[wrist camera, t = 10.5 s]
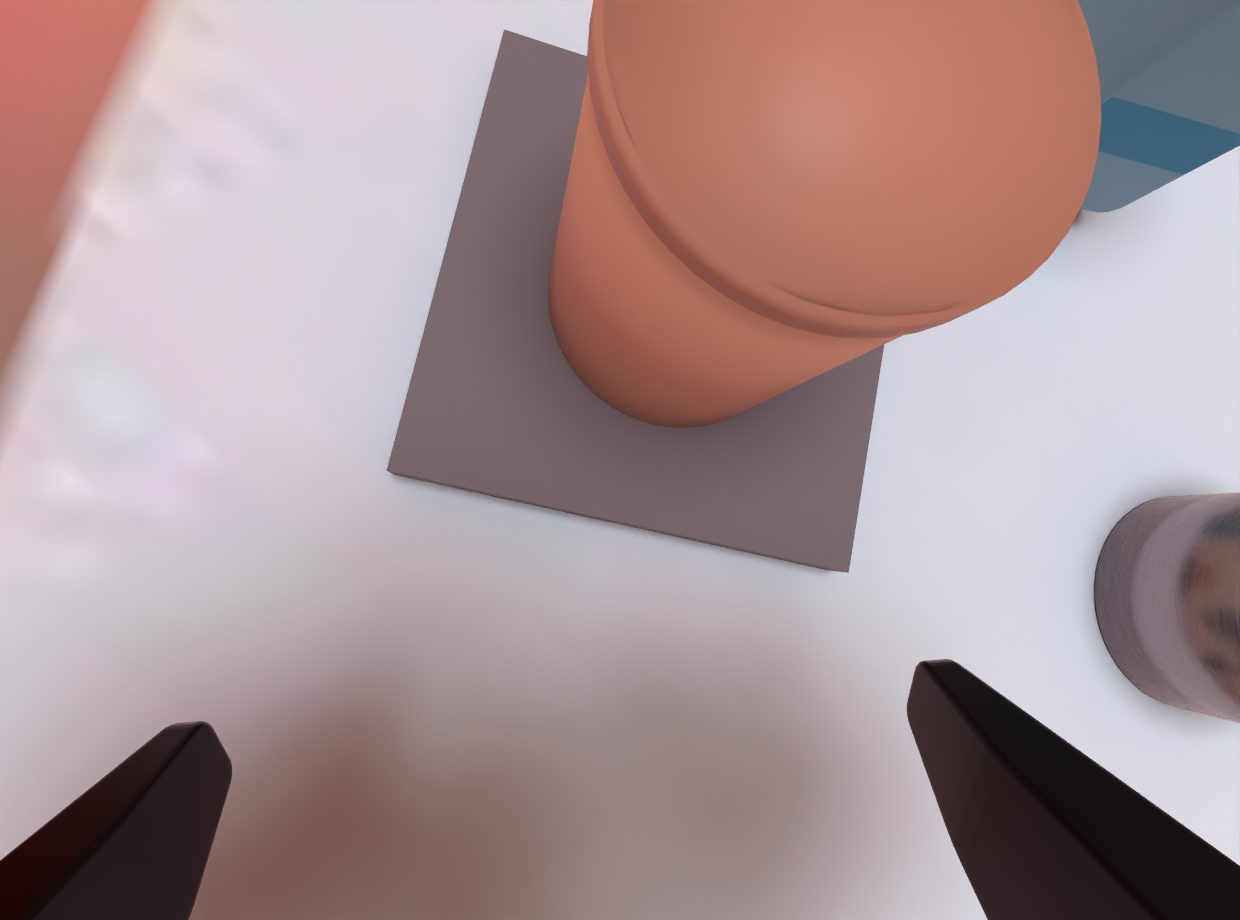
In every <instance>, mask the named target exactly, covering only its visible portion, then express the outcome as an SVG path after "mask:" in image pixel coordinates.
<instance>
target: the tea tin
mask: <svg viewBox="0 0 1240 920" xmlns="http://www.w3.org/2000/svg"><path fill="white" fill-rule="evenodd" d="M1095 604H1096V613H1097V618H1098V622H1099V627H1100V630H1101V633H1102V636H1103V639H1104V641H1105V643H1106V646H1107V648H1108V650H1109V652H1110V654H1111V656H1112V657H1113V659H1114V661H1115V662H1116V664H1117V665H1118V667H1119V668H1120V669H1121V671H1122V672H1123V673H1124V674H1125V676H1126V677H1127V678H1128V679H1129V680H1130V681H1131V682H1132V683H1133V684H1134V685H1135V686H1137V687H1138V688H1139V689H1140V690H1142V691H1143V692H1144V693H1146V694H1147V695H1149V696H1151V697H1153V698H1154V699H1156V700H1158V701H1161V702H1163V703H1166V704H1168V705H1172V706H1176V707H1180V708H1184V709H1188V710H1191V711H1195V712H1199V713H1203V714H1207V715H1211V716H1214V717H1218V718H1222V719H1226V720H1230V721H1234V722H1238V723H1240V493H1228V494H1210V495H1191V496H1173V497H1163V498H1157V499H1154V500H1151V501H1148V502H1145V503H1143V504H1141V505H1140V506H1138V507H1136V508H1134V509H1133V510H1132V511H1130V512H1129V513H1128V514H1127V515H1125V516H1124V518H1123V519H1122V520H1121V521H1120V522H1119V523H1118V524H1117V525H1116V527H1115V528H1114V529H1113V531H1112V532H1111V534H1110V535H1109V537H1108V539H1107V541H1106V543H1105V545H1104V547H1103V550H1102V553H1101V555H1100V558H1099V563H1098V567H1097V571H1096V580H1095Z"/></svg>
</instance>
